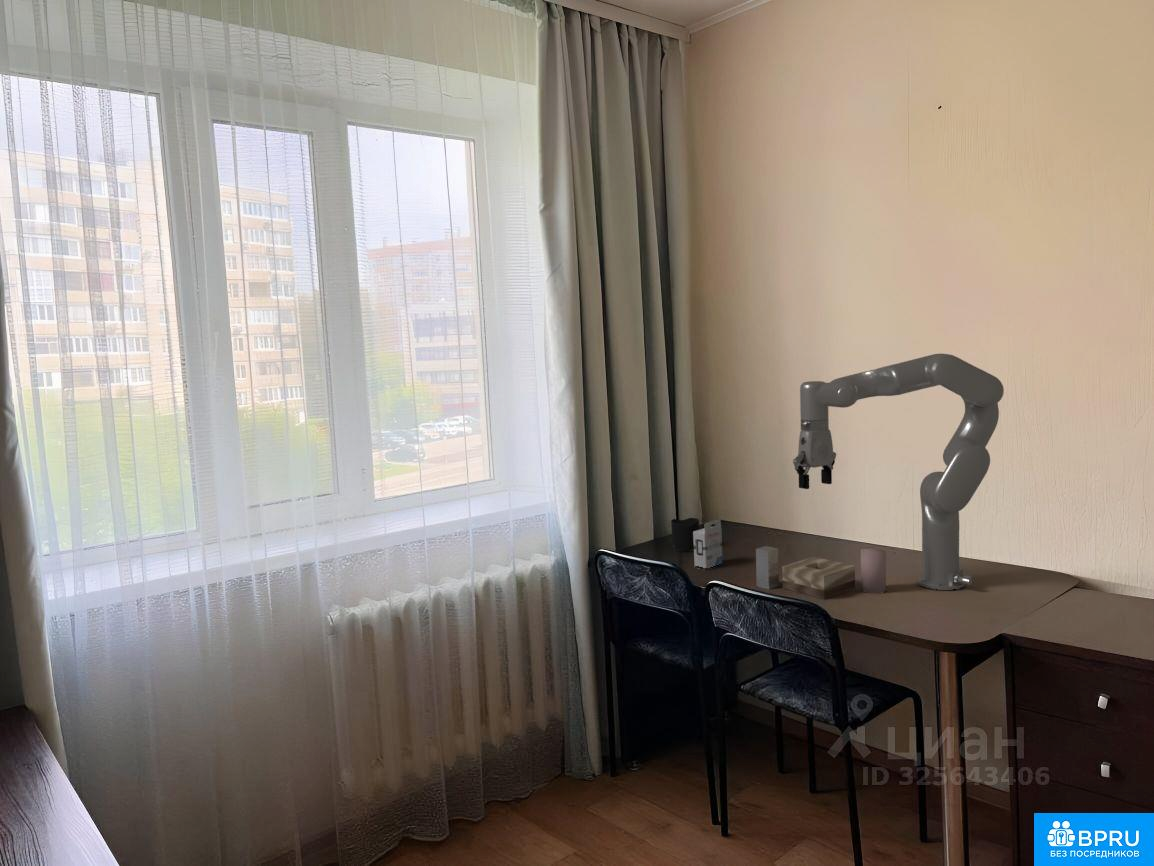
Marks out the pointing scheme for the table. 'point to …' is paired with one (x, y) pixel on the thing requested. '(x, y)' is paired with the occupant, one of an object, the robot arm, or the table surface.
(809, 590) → the bore block
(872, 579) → the round peg
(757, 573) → the square peg
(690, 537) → the pen holder
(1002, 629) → the table surface
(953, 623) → the table surface
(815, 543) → the table surface
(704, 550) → the ink box
